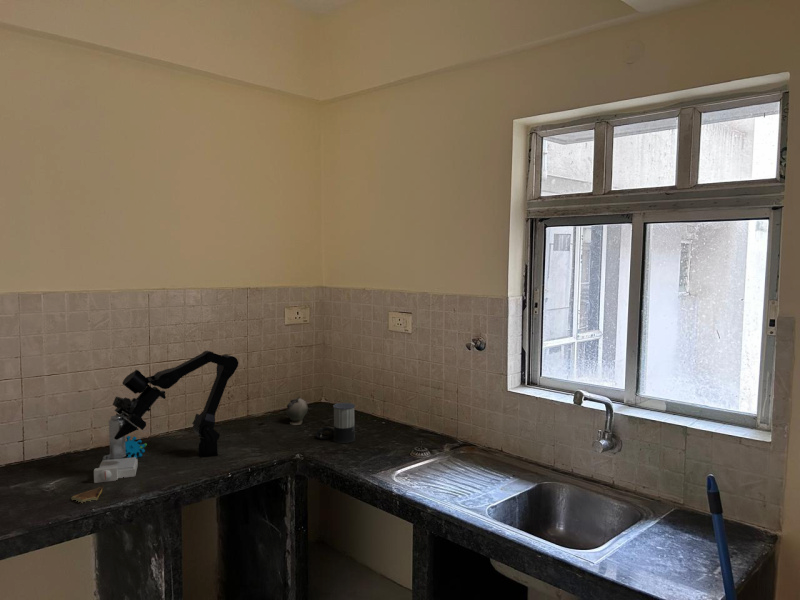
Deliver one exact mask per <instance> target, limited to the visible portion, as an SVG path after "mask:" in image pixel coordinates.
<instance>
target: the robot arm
mask: <svg viewBox="0 0 800 600" xmlns="http://www.w3.org/2000/svg"><path fill="white" fill-rule="evenodd" d="M209 363H213V364H216V376H215V378H214V381H213V384H212V387H211V390H210V392H209V395H208V397H207V400H206V403H205V405H204V408H203V410H202V411H201V412H200V414H198V413H196V414H195V415H194V416H195V417H194V420H193V421H192V423H191V424H192V429H193V432H194V433H195V434H196V435H197V436H198V438H199V442H198V455H199V457H200V458H204V457H206V458H207V457H214V456H218V455H219V453H218V452H219V451H218V440H219V438H220V436H221V434H220V433H219V432H218V431H216V430H215V425H216V424H215V423H216V413H217V410H218V408H219V405H220V402H221V400H222V397H223V394H224V392H225V389H226V386H227V384H228V381H229V380H230V378H231V377H232V376H233V375H234V374H235V372H236V370H237V368H238V367H239V361H238V358H237V357H235V356H233V355H229V354H223V355H221V354H217V353H214V352H213V351H210V350H205V351H203V352H202V353H200V354H198V355H196V356H194V357H192V358H190V359H188V360H187V361H184V362H183V363H181V364H179V365H177V366H174V367H170V368H165V369H163V370H160V371H158V372H157V371H156V373H155V374H153V375H151V376H147V377H146V376H145V375H143V374H142V372H141V371H140V370H138V369H135V370H133V371H132V372H131V373H129V375H128V374H127V375H126V376H125V378H124V379H123V381H122V385H123V386H124V387H125V388H127V389H128V390H129V391H131V392H132V393H133V394H139V395H138V396H137V397H134V398H131V399H130V398H128V397H119V396H115V398H114V399H113V401H112V402H113V403H112V406H114V407H115V409H114V411H115V412H116V414H115V415H122V418H123V425H122V427H121V428H120V430H119V431H118V433H117V434H116V436H115V437H114V439H116V440H118V439H119V438H121V437H123V436H125V437H126V436H128V435H130V434H131V433H133V432H135V431H139V429H140V430H142V431H143V430H144V429H145V428H146V427H147V421H145V420H144V419H143V416H144V415H145V414H146V413H147V412H150V411H151V407H152V406H153V405H154V404H155V402H156V401H157V400H158V399H159V398H161V399H164V400H166V399H167V398H166V397H167V396H166V391H165V390H167V389H168V390H169V389H170V388H171V387H173V386H175V385H176V384H177V383H179V382H178V381H180V379H182V378H183V377H184V376H186V375H189V374H190V373H193V371H196V370H198V369H199V368H201V367H203V366H206V365H207V364H209ZM150 385H151V386H150ZM159 388H160V389H163V390H160V389H159Z"/></svg>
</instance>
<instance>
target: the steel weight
mask: <svg viewBox="0 0 800 600" xmlns="http://www.w3.org/2000/svg"><path fill="white" fill-rule="evenodd" d="M122 425H123V418H122V415H116V414H115V415H112V416H110V419H109V420H108V435H109V440H108V441H109V454H110V459H111V460H112V459H122V458H126V457H127V456H126V447H125V441H126V435H125V436H123V437H121V438H119V439H118V440H116V439H114V437H115V436H116V434H117V433H118V431H119V430H120V428H121V427H122Z"/></svg>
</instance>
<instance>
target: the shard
mask: <svg viewBox="0 0 800 600" xmlns="http://www.w3.org/2000/svg"><path fill="white" fill-rule="evenodd" d="M103 489H104V485H102V486H99V487H96V488H93V489H90V490H89V489H88V490H87V491H83V492H81V493H78V494H75V495H72V496H71V498H70V500H71V501H73V500H76V501H75V502H77V501H78V502H77V503H79V502H81V503H82V504H84V503H83V502H85V503H87V502H86V501H90V502H92V501H91V500H96V501H98V500H99V497H100V495H101V494H102V493H103ZM81 503H80V504H81Z"/></svg>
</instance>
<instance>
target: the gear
mask: <svg viewBox="0 0 800 600" xmlns="http://www.w3.org/2000/svg"><path fill="white" fill-rule="evenodd" d="M130 440H131V441H130ZM142 442H143V441H142V440H141V439H138V440H137V437H136V436H133V437H132V439H131V435H126V436H125V447H126V456H125V457H126V458H132V455H133V457H136V459H138V458H142V457H143V454H144V453H145V452H146V450H145V448H146V447H147V445H148V444H147V443H143V444H142ZM137 454H138V455H137ZM127 455H128V456H127Z"/></svg>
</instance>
